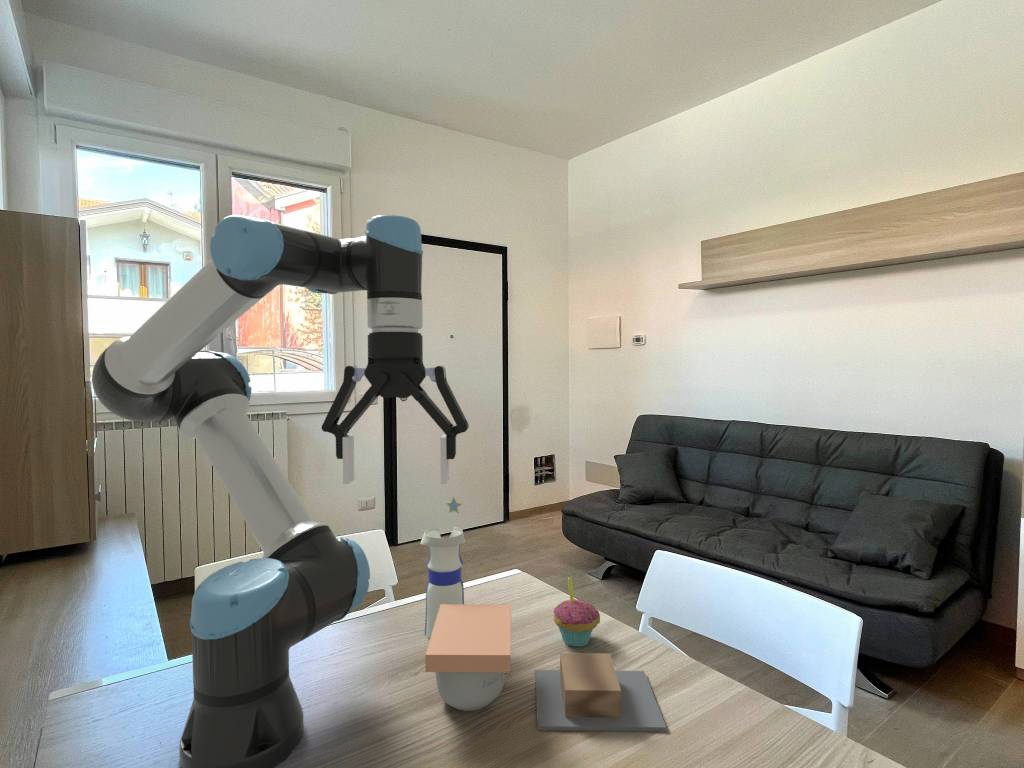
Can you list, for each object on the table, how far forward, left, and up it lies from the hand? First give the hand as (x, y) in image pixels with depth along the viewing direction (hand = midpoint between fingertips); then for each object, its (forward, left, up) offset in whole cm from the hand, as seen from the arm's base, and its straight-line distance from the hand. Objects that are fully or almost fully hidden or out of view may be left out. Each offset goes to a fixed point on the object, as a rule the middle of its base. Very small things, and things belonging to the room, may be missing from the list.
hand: (396, 482), depth 79 cm
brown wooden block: (+28, +5, -35) cm, 45 cm away
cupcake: (+28, +23, -35) cm, 50 cm away
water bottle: (+3, +26, -35) cm, 44 cm away
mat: (+29, +5, -35) cm, 45 cm away
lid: (+10, +7, -27) cm, 29 cm away
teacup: (+10, +7, -35) cm, 37 cm away
